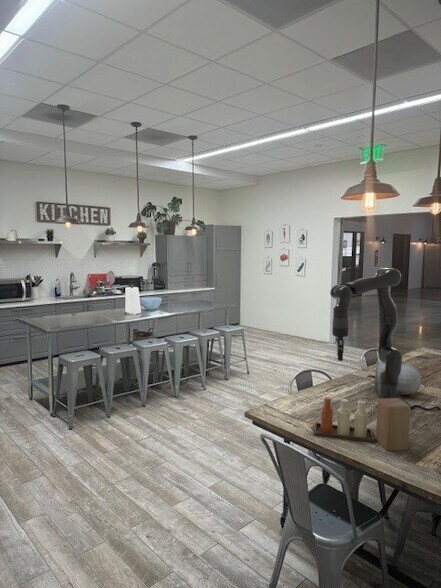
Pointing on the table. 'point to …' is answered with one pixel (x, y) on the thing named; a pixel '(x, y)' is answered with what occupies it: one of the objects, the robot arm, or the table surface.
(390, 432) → the wooden block
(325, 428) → the terracotta bottle
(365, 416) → the cream bottle
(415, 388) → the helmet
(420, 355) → the table surface
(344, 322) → the robot arm
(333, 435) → the tray
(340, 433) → the cream bottle
